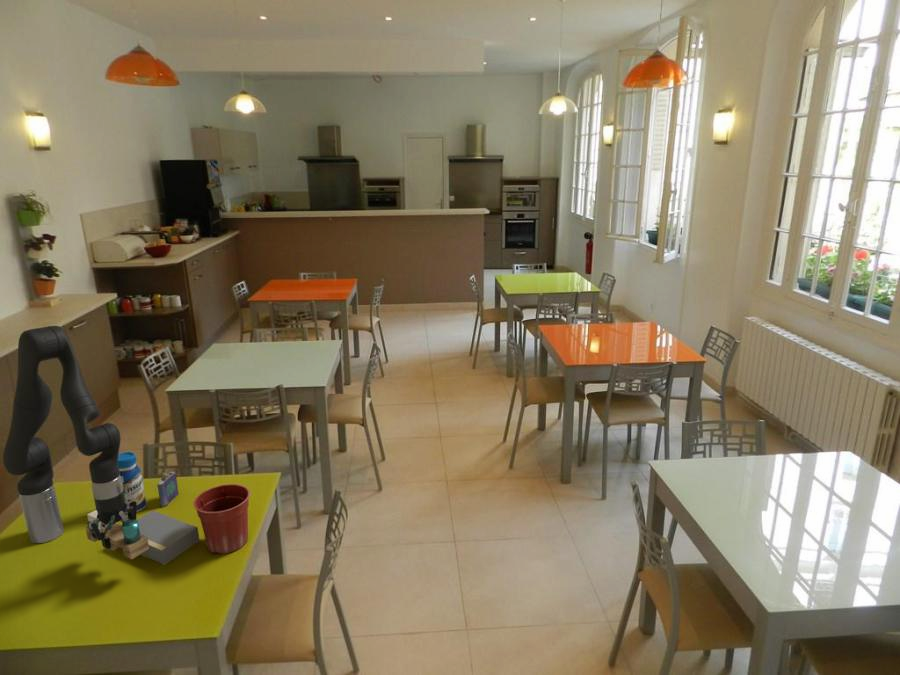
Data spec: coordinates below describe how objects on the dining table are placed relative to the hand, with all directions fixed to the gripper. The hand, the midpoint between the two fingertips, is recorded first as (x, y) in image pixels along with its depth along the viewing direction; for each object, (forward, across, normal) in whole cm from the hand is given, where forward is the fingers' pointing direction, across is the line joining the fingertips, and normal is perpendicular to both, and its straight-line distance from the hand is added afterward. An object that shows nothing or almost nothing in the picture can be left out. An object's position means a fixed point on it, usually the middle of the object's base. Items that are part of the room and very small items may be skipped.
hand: (117, 541), depth 177 cm
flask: (+9, -31, -19) cm, 37 cm away
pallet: (+1, 0, 0) cm, 1 cm away
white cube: (-3, 0, -8) cm, 8 cm away
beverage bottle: (+9, -22, -26) cm, 35 cm away
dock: (+9, -13, 0) cm, 15 cm away
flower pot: (+8, -23, +19) cm, 31 cm away
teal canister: (-3, 0, +7) cm, 8 cm away
